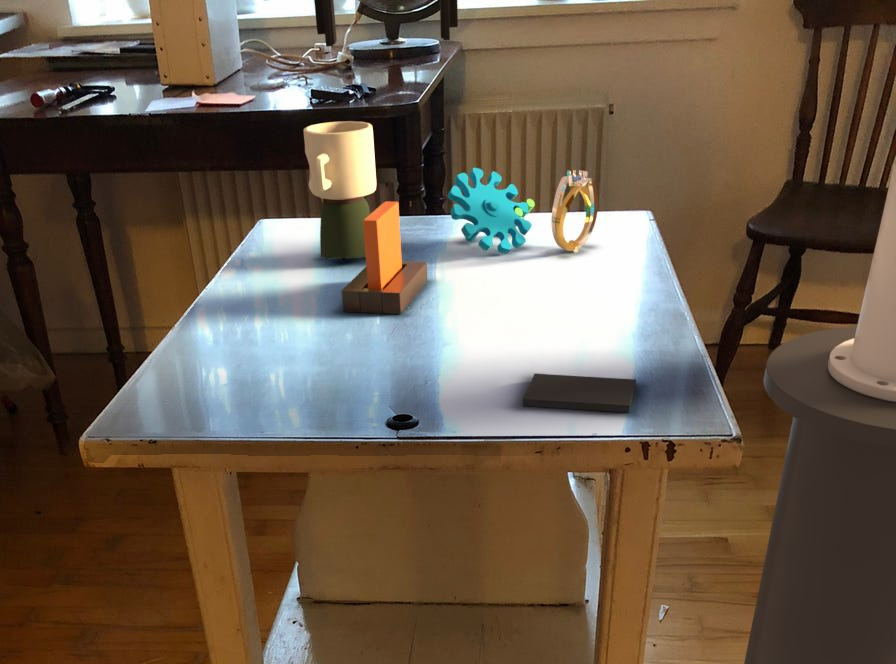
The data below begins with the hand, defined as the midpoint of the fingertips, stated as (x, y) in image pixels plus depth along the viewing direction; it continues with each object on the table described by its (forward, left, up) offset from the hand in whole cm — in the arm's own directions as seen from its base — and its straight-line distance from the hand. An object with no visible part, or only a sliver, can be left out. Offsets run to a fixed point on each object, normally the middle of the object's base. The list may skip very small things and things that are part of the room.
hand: (388, 41), depth 82 cm
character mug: (+10, -13, -22) cm, 27 cm away
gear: (-5, -19, -22) cm, 29 cm away
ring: (-14, -18, -22) cm, 32 cm away
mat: (-20, +20, -22) cm, 36 cm away
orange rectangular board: (+2, -1, -22) cm, 22 cm away
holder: (+2, -1, -22) cm, 22 cm away
